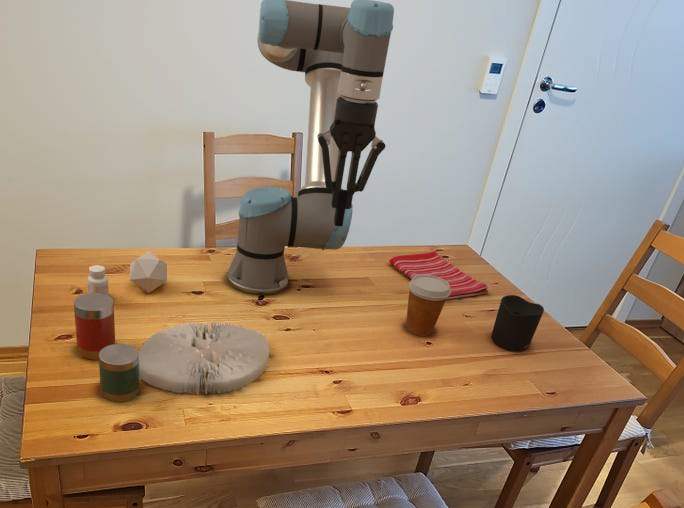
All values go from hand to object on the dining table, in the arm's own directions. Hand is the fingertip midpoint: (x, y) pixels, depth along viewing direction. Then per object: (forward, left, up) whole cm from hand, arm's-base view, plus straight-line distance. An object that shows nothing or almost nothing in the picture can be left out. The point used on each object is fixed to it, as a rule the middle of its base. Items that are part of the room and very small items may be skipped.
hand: (338, 223), depth 127 cm
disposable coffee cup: (-7, +24, -27) cm, 37 cm away
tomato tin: (+12, -46, -26) cm, 54 cm away
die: (-17, -40, -27) cm, 51 cm away
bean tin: (+25, -39, -26) cm, 53 cm away
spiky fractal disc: (+13, -24, -27) cm, 39 cm away
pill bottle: (-9, -50, -27) cm, 57 cm away
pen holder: (-4, +45, -27) cm, 52 cm away
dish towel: (-36, +35, -27) cm, 57 cm away
